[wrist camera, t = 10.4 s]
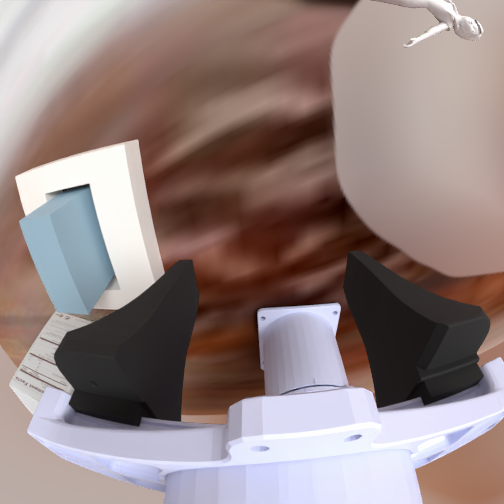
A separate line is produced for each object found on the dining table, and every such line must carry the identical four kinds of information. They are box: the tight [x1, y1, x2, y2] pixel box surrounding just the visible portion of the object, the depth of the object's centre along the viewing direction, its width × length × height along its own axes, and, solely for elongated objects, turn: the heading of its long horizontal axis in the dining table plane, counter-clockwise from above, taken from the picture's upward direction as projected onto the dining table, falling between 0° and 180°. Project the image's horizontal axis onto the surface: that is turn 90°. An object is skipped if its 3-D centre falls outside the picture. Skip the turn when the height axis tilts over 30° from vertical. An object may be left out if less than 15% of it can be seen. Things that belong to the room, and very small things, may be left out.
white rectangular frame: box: [16, 140, 165, 310], centre depth 21 cm, size 14×12×2 cm
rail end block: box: [19, 184, 115, 315], centre depth 19 cm, size 8×4×7 cm, turn 3°
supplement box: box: [9, 310, 93, 415], centre depth 23 cm, size 7×7×13 cm
